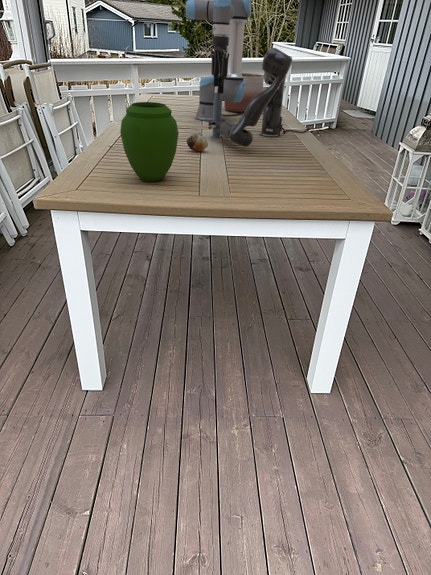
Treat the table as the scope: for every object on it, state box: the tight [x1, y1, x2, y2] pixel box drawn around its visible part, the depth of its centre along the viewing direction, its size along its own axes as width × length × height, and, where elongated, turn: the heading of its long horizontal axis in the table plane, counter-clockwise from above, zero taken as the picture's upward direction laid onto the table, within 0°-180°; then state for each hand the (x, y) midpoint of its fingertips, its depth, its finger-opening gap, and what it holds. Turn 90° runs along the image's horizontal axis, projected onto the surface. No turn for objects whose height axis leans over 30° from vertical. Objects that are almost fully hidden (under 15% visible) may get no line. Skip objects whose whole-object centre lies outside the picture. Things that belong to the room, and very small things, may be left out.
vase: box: [119, 101, 179, 182], centre depth 140 cm, size 20×20×24 cm
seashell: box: [186, 132, 209, 152], centre depth 180 cm, size 10×6×8 cm, turn 97°
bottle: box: [211, 93, 223, 139], centre depth 202 cm, size 4×4×23 cm
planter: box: [223, 72, 265, 114], centre depth 275 cm, size 25×25×22 cm
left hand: (218, 92), depth 197 cm, fingers closed on cap, 4 cm apart
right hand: (215, 122), depth 207 cm, fingers closed on bottle, 4 cm apart
